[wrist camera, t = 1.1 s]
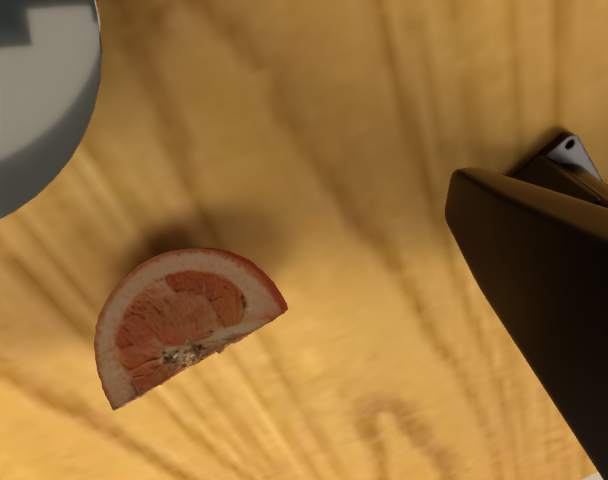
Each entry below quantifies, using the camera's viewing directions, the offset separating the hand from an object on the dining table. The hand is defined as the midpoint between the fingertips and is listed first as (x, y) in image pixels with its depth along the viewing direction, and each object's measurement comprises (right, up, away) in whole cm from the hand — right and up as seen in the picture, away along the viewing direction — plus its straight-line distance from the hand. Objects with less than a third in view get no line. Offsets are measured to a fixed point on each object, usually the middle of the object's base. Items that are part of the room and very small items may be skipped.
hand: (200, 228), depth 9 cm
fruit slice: (-4, -2, +17) cm, 18 cm away
